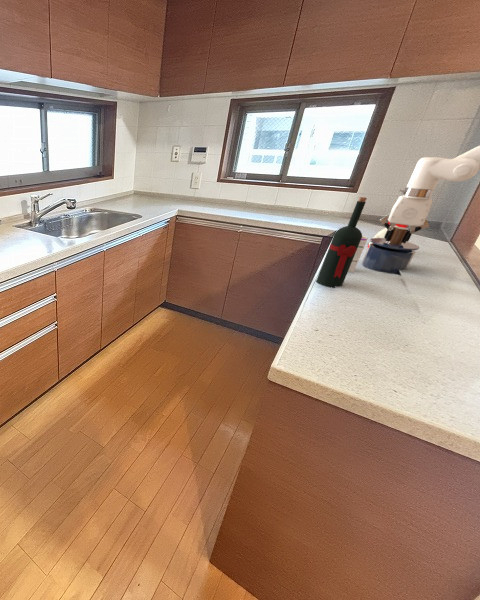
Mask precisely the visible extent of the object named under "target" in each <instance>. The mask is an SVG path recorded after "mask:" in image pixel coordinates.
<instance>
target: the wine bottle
mask: <svg viewBox="0 0 480 600" xmlns="http://www.w3.org/2000/svg"><path fill="white" fill-rule="evenodd" d="M366 203H367V197H365V196H364V197H363V196H359V197H358V200H357V201H356V203H355V206H354V208H353V212H352V214H351V216H350V219H349V221H348V225H346V226H343V227H340V228H339V229H337V230H336V231H335V232H334V234H333V237H332V239H331V242H330V244H329V247H328V249H327V252H326V254H325V257H324V260H323V262H322V265H321V268H320V270H319V273H318V275H317V278H316V281H315V282H316V283H317V284H319V285H320V286H323V287H327V288H331V287H332V288H333V289H335V288H336V287H342V286H343V285H344V282H345V280H346V277H347V275H348V273H349V272H348V270H349V268H350V265H351V263H352V260H353V258H354V256H355V253H356V251H357V248H358V246H359V243H360V241H361V238H362V235H363V233H362V231H361V230H360V229H359V228H358V227H357V225H358V222H359V220H360V218H361V215H362V212H363V210H364V208H365V206H366Z"/></svg>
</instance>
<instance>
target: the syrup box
mask: <svg viewBox="0 0 480 600" xmlns="http://www.w3.org/2000/svg"><path fill="white" fill-rule="evenodd" d="M368 239H369V237H368V236H365V235H363V234H362V238H361V241H360V243H359V246H358V248H357V251H356V253H355V256H354V258H353V260H352V263H351V265H350V268H349V270H348V273H355V271H356V268H357V266H358V263H359V261H360V257H361V256H362V254H363V250H364V248H365V246H366V243H367V242H368Z"/></svg>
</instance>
